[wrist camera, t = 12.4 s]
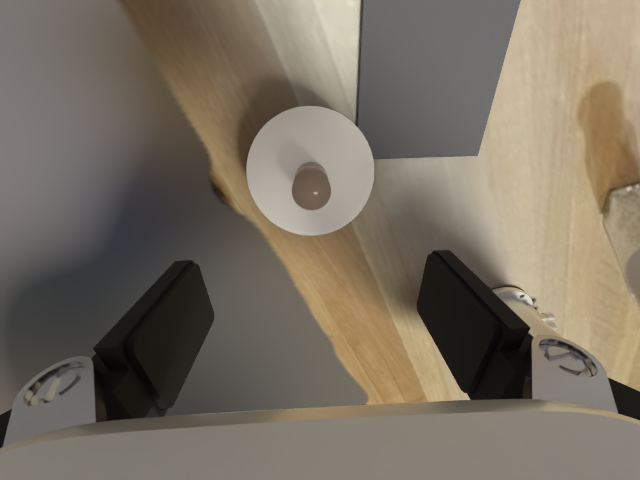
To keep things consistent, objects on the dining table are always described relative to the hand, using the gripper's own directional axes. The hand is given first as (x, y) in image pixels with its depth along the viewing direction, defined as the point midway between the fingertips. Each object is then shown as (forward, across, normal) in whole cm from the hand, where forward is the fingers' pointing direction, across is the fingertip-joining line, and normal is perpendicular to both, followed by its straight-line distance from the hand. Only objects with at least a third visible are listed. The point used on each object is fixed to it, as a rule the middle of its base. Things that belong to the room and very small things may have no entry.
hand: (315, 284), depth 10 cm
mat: (+24, -14, -9) cm, 29 cm away
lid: (+19, 0, 0) cm, 19 cm away
